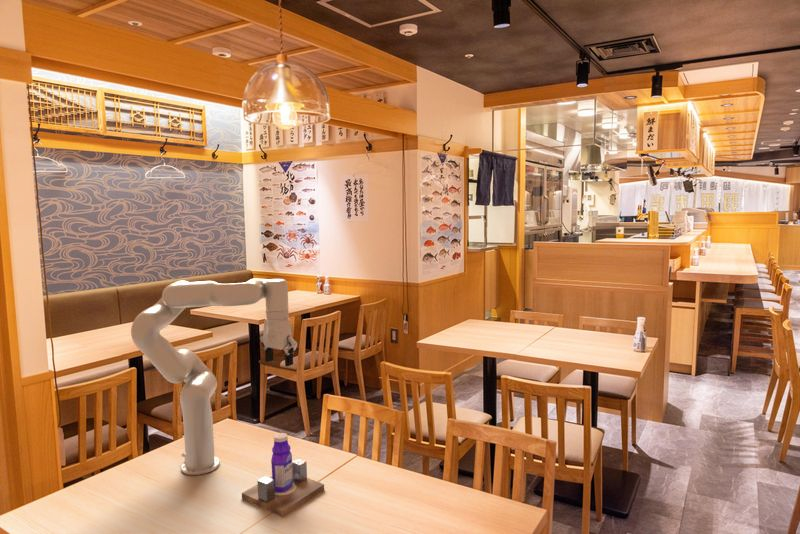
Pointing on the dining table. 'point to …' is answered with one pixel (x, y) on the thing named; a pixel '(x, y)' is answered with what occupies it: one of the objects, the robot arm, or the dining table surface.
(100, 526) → the dining table surface
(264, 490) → the post pair
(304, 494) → the base board
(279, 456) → the bottle
